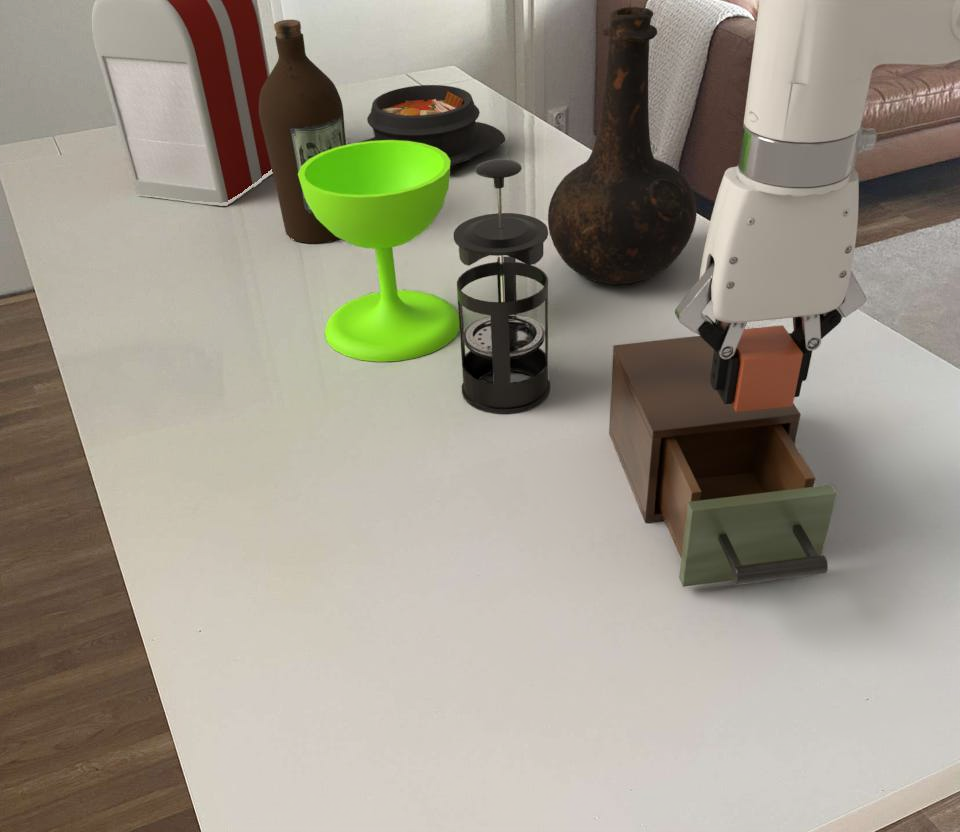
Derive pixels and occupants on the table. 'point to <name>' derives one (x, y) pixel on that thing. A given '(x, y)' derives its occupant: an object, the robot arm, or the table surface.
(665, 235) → the glass bottle
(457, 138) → the casserole
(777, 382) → the block
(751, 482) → the drawer
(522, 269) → the french press
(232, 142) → the tissue box
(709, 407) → the cabinet
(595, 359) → the table surface
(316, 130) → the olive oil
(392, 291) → the wineglass
